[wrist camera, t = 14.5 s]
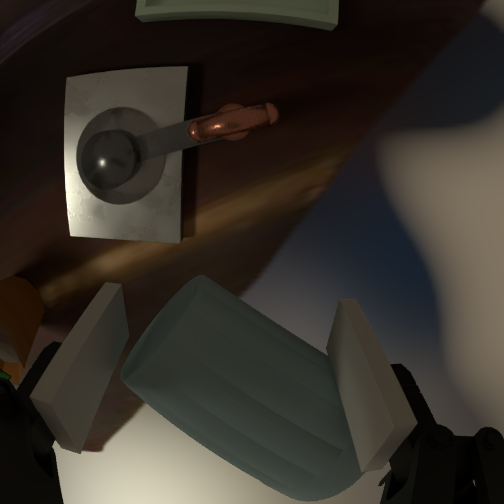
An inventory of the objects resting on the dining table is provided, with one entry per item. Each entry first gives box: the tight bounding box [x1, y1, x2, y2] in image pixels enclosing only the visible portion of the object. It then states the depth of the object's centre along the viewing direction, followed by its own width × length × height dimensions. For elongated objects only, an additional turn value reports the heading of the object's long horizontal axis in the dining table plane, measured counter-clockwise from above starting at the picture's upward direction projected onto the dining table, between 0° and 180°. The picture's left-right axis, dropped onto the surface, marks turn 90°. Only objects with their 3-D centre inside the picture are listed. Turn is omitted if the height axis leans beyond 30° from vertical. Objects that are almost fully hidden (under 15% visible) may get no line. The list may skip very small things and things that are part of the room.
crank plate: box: [64, 66, 190, 243], centre depth 26 cm, size 12×16×1 cm
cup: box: [120, 275, 365, 501], centre depth 13 cm, size 8×8×10 cm
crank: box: [81, 102, 281, 190], centre depth 21 cm, size 16×5×7 cm, turn 102°
